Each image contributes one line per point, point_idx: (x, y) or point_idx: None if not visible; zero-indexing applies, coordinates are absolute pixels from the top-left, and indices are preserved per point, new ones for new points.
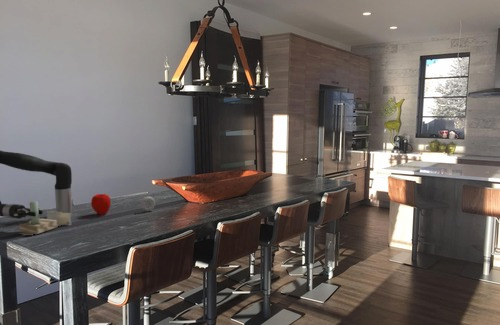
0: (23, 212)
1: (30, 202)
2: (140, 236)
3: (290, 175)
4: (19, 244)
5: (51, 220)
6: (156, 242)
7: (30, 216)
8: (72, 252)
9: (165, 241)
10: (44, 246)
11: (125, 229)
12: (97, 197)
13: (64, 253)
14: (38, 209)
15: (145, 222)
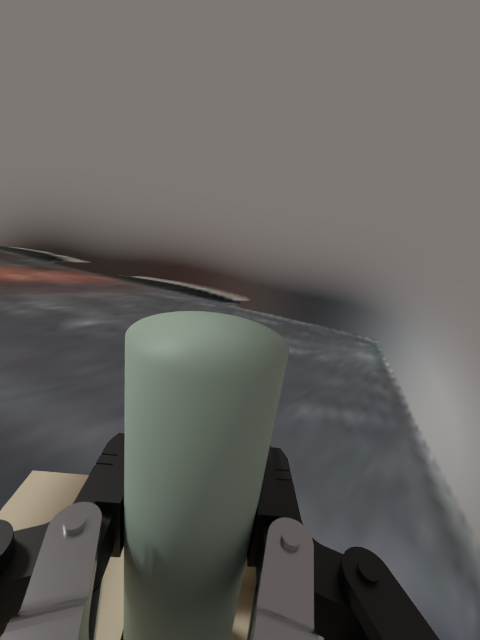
0: (384, 575)
1: (271, 354)
2: (181, 300)
3: None
4: (440, 502)
5: (38, 510)
6: (212, 291)
7: (235, 591)
8: (331, 341)
9: (204, 287)
10: (356, 399)
11: (117, 316)
12: None
13: (347, 348)
14: (12, 531)
15: (33, 302)
